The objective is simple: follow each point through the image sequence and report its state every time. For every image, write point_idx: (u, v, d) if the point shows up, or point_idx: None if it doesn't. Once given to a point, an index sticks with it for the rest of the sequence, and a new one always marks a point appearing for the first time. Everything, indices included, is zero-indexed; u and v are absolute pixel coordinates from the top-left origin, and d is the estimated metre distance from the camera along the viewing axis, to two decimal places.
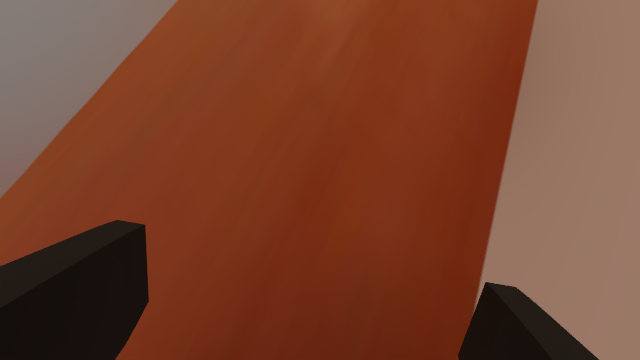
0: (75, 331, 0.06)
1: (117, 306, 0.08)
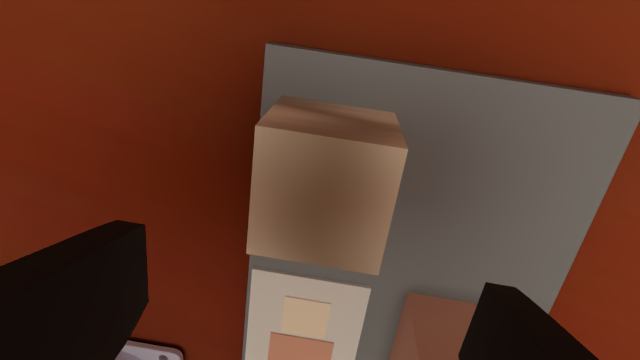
0: (75, 331, 0.06)
1: (117, 306, 0.08)
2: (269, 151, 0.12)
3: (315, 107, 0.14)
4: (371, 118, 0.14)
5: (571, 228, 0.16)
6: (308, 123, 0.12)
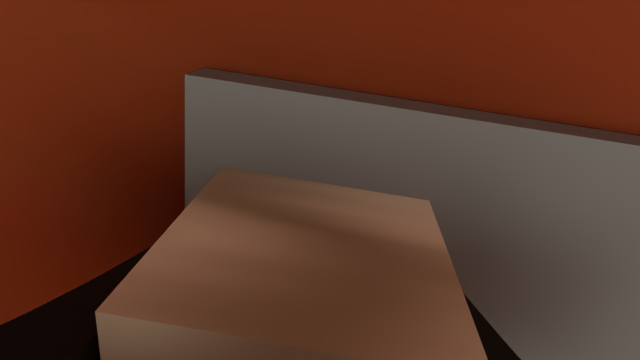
0: None
1: None
2: None
3: (277, 201, 0.07)
4: (388, 229, 0.07)
5: None
6: (246, 275, 0.05)
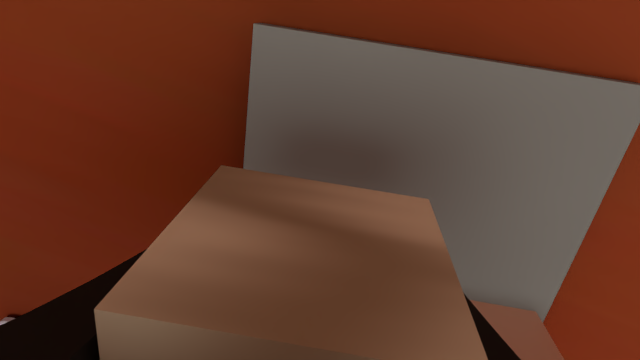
0: None
1: None
2: None
3: (277, 200, 0.07)
4: (387, 227, 0.07)
5: (573, 222, 0.16)
6: (245, 273, 0.05)
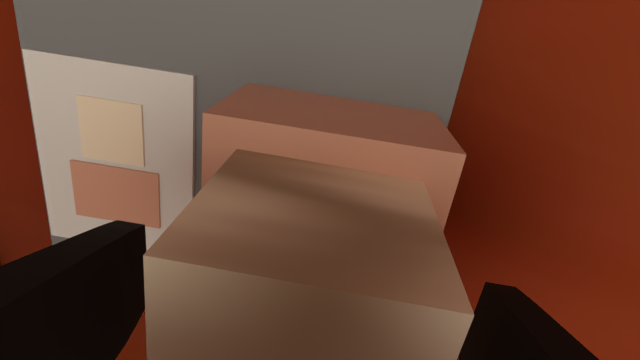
0: (75, 331, 0.06)
1: (117, 306, 0.08)
2: (178, 304, 0.06)
3: (288, 178, 0.08)
4: (386, 202, 0.08)
5: None
6: (265, 234, 0.06)
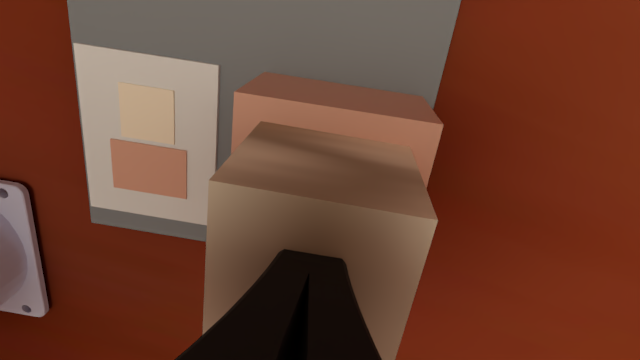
0: None
1: (297, 337, 0.07)
2: (231, 217, 0.08)
3: (303, 141, 0.11)
4: (379, 158, 0.10)
5: None
6: (290, 172, 0.08)
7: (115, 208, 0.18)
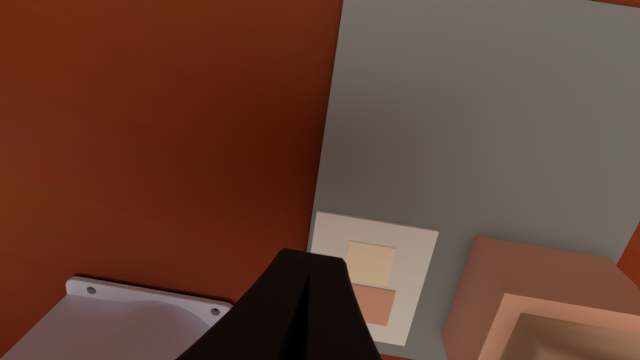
0: None
1: (297, 337, 0.07)
2: None
3: (574, 343, 0.14)
4: None
5: None
6: None
7: None
